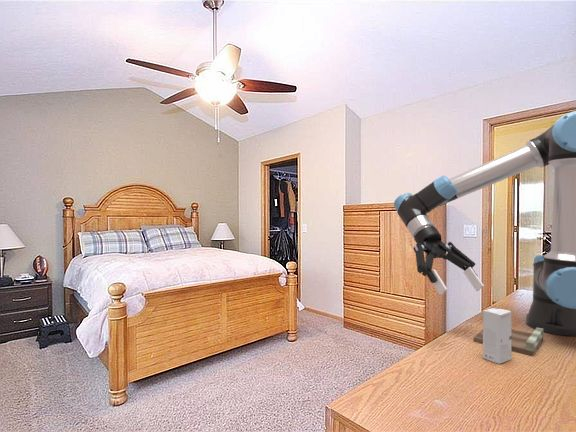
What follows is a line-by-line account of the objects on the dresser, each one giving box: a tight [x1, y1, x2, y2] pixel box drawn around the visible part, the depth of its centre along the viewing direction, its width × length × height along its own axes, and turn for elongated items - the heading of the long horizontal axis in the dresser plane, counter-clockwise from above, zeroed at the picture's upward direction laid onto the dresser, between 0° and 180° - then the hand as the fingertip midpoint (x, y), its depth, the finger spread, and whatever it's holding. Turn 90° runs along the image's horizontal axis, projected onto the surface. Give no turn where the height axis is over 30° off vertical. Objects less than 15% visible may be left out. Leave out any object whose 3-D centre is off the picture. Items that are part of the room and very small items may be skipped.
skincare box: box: [482, 307, 512, 364], centre depth 88 cm, size 6×4×12 cm
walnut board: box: [473, 328, 544, 357], centre depth 100 cm, size 16×14×3 cm
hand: (462, 290), depth 98 cm, fingers open, 13 cm apart
